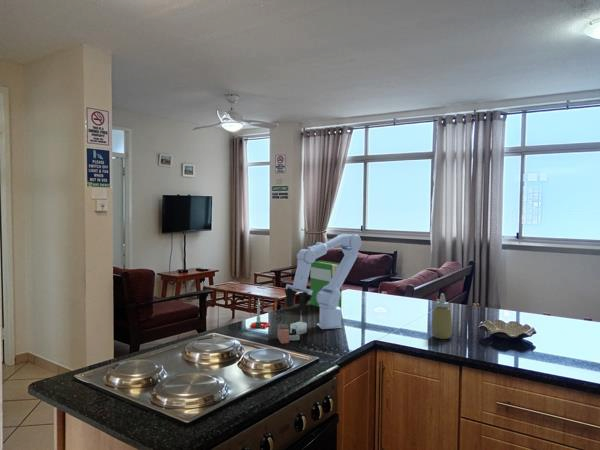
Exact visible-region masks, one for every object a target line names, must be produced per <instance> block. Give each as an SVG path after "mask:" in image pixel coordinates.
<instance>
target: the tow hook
mask: <svg viewBox="0 0 600 450" xmlns="http://www.w3.org/2000/svg"><path fill="white" fill-rule="evenodd" d="M260 299H261V298H258V299H257V308H256V310H257V312H256V321H255V322H252V323H250V328H251V329H266V328H268V327H270V326H271V323H270V322H266V321H261V300H260Z"/></svg>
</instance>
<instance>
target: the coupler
mask: <svg viewBox="0 0 600 450" xmlns="http://www.w3.org/2000/svg"><path fill="white" fill-rule="evenodd" d="M300 337H301V336H300V335H296V334H290V330H289V324H287V323H281V324H280V323H279V324H278V325H277V339H278V340H279V342H280V344H289V343H290V341H300Z"/></svg>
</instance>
